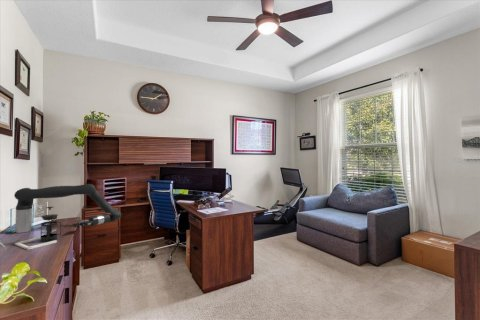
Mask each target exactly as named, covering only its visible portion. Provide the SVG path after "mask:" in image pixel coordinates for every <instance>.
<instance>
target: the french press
mask: <svg viewBox="0 0 480 320" xmlns="http://www.w3.org/2000/svg"><path fill="white" fill-rule="evenodd" d="M53 208H54V206H46V209H48V211H49V213H48V214H46V215H45V214H44V215H41V216H40V218H42V220H43V221H44V222H42V223H40V237H41V239H39V240H40V241H39V243H46V242H50V241H54V240H57V241H58V239H59V238H58V236H61V234H62V222H61V221H57V219H58V216H59V215H58V213H57V214H55V213H54V214H51V210H52V209H53ZM58 224H59V227H60V230H59V233H57V232H58ZM53 226H56V228H53ZM42 227H46V230H45V229H44V230H42V229H43V228H42Z"/></svg>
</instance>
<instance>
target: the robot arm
mask: <svg viewBox="0 0 480 320" xmlns="http://www.w3.org/2000/svg"><path fill="white" fill-rule="evenodd" d="M75 195H86V196H88V197H89V198H91V199H92V200H93V201H94V202H95V203H96V204H97V205H98V207H99V208H100V209H101V210H102V211H103V212H104V213H103V214H98V215H92V216H90V217H88V218H87V219H80V220H78V221H77V222H75V223H72V227H73V228H76V227H86V226H90V227H94V226H98V225H102V224H106V223H114V222H116V221H118V220H119V219H120V218H122V212H121V211H120V210H118V208H116V207H113V206H112V204H111V203H110V202H108V201H107V200H106V199H105V198H104V197H103V196H102V195H101V194H100V193H99V192H98V190H97V189H96V187H95V185H94V184H93V183H86V184H80V185H55V186H47V187H43V188H42V187H41V188H30V187H24V188H23V187H22V188H20V189H18V190H17V191H15V192H14V199H16V200H17V203H16V206H15V229H14V231H15V233H17V234H18V233H19V234H21V233H29V232H31V231H32V228H33V227H32V225H33V205H34V200H35V199H58V198H65V197H70V196H75Z"/></svg>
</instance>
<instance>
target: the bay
mask: <svg viewBox="0 0 480 320" xmlns="http://www.w3.org/2000/svg"><path fill="white" fill-rule="evenodd" d="M38 240H41V236H38V237H34V238H29V239H25V240H21V241H16V242H14V246H18V248H22V249H24V250H32V249H37V248H39V247H44V246H49V245H51V244H56V243H57V242H58V239H57V240H54V241H50V242H41V243H39V244H35V245H31V246H29V245H26V244H27V243H30V242H34V241H38Z"/></svg>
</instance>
